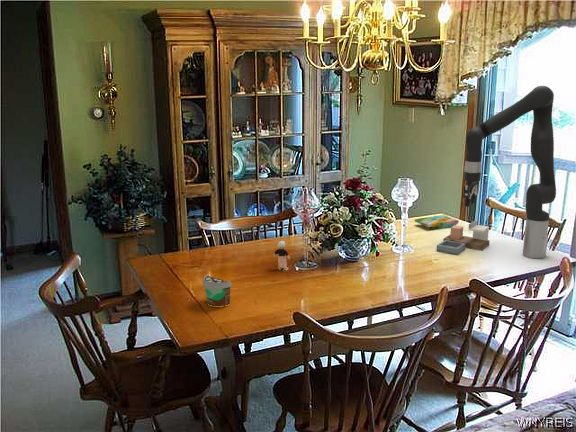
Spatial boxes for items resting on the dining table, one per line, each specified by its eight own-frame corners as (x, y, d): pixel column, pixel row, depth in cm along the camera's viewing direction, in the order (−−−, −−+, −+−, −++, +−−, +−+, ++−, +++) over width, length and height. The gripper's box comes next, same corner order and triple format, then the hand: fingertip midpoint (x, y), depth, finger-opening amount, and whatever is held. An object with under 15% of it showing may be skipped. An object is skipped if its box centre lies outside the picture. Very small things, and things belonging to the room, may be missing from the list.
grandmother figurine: (291, 268, 239) (291, 240, 236) (289, 271, 236) (289, 243, 232) (274, 266, 241) (274, 239, 238) (272, 269, 238) (271, 241, 234)
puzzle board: (489, 245, 267) (489, 240, 266) (482, 250, 259) (482, 245, 259) (451, 238, 278) (451, 233, 277) (443, 243, 270) (443, 238, 270)
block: (462, 242, 272) (463, 226, 270) (458, 244, 268) (459, 228, 266) (453, 240, 275) (454, 225, 272) (449, 243, 271) (450, 227, 269)
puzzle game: (458, 218, 297) (427, 223, 290) (458, 227, 298) (427, 231, 291) (444, 213, 308) (414, 217, 300) (444, 221, 309) (414, 226, 301)
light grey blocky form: (487, 240, 266) (489, 222, 263) (482, 244, 260) (483, 226, 257) (473, 237, 270) (474, 220, 267) (467, 241, 264) (468, 224, 261)
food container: (196, 303, 204) (195, 278, 202) (208, 298, 209) (207, 273, 206) (220, 312, 197) (219, 286, 194) (232, 306, 202) (231, 280, 199)
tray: (465, 249, 261) (465, 243, 260) (457, 255, 253) (457, 249, 253) (444, 245, 267) (445, 239, 266) (436, 251, 259) (436, 245, 258)
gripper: (470, 167, 267) (467, 201, 271) (459, 172, 256) (456, 206, 260) (485, 169, 262) (483, 203, 266) (475, 173, 251) (472, 209, 255)
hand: (470, 204), depth 263 cm, fingers open, 7 cm apart
